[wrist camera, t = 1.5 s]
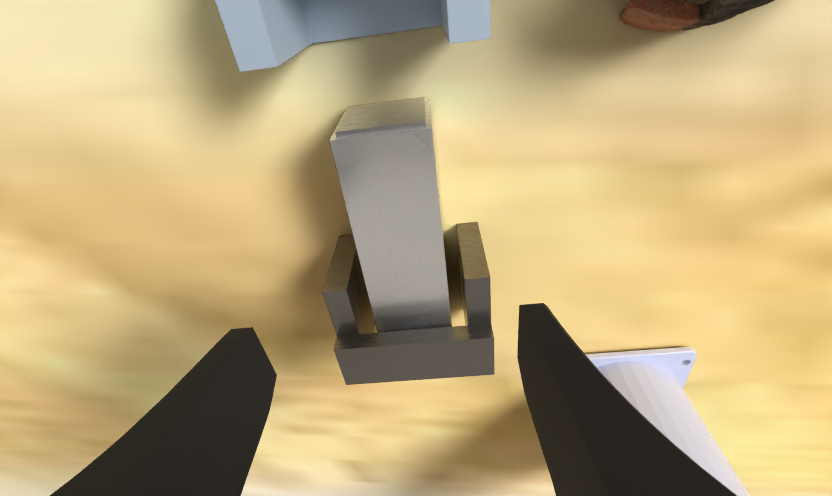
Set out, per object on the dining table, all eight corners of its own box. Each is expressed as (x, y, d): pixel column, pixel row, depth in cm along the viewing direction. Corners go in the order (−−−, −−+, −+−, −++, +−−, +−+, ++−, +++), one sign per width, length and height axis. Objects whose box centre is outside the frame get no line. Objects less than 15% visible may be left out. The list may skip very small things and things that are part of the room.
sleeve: (480, 299, 22) (494, 374, 18) (359, 309, 23) (346, 384, 18) (477, 222, 19) (493, 290, 15) (339, 235, 20) (318, 305, 16)
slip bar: (451, 318, 22) (455, 367, 20) (391, 323, 23) (387, 372, 20) (429, 94, 16) (431, 122, 13) (344, 105, 16) (327, 134, 13)
